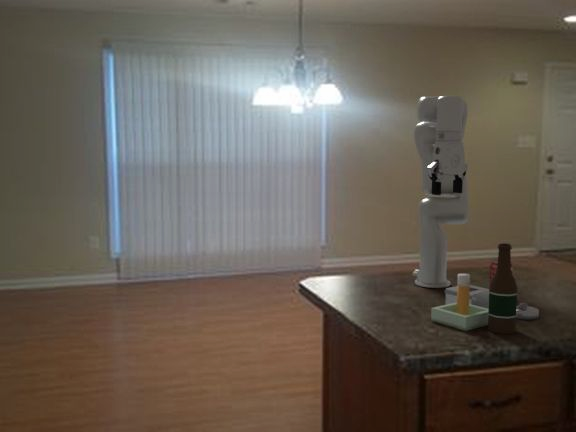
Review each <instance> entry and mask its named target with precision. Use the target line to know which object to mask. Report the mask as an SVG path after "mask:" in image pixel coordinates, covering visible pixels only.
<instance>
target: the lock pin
mask: <svg viewBox="0 0 576 432" xmlns="http://www.w3.org/2000/svg"><path fill="white" fill-rule="evenodd" d="M470 285H471V274H469V273H458V274H457V285H456V286H457V313H458V314H462V315H469V291H470Z"/></svg>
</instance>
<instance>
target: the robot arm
mask: <svg viewBox="0 0 576 432" xmlns="http://www.w3.org/2000/svg"><path fill="white" fill-rule="evenodd" d="M468 110H469V108H468V105H467V102H466V100H464V99H463V98H462V96H459V95H441V96H440V95H439V96H436V95H434V96H430V95H429V96H421V97H420V98H419V99H418V101H417V106H416V114H417V119H418V120H419V121H420V122H419V123H417V124H416V125H415V127H414V129H413V138H414V145H415V148H416V150H417V153H418V155H419V156H418V157H419V159H420V168H421V169H420V170H421V172H420V173H421V188H422V192H423V193H424V194H425V195H427V196H430V197H426V198H423V199H421V200H420V201H419V203H418V207H417V210H418V218H419V219H418V220H419V234H420V235H419V269H415V270H414V271H413V272H412V276H416V279H415V280H414V284H415V285H416V286H418V287H422V288H431V289H442V288H449V287H451V281H450V280H448V279H447V263H448V261H447V260H448V259H447V258H448V236H447V233H446V231H444V229H443V228H442V227H441V225H463V224H466V223H467V222H468V220H469V214H470V210H469V208H470V206H469V205H470V204H469V192H468V179H467V170H468V167H469V166H468V164H467V163H465V161H466V159H465V158H466V156H465V148H464V146H465V145H464V142H463V140H464V137H465V136H464V135H465V131H466V126H467V121H468V113H469V111H468ZM433 196H434V197H433Z"/></svg>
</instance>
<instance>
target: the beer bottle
mask: <svg viewBox="0 0 576 432" xmlns="http://www.w3.org/2000/svg"><path fill="white" fill-rule="evenodd" d="M497 249H498V254H497V255H498V256H497V260H498V264H497V270H496V273H495V274H494V276H493V277H492V279H491V282H490V281H489V288H488V289H489V311H488V325H487V330H488V331H489V332H491V333H494V334H499V335H501V334H502V335H512V334H515V333H516V330H517V329H516V326H517V319H516V310H517V304H518V286H517V282H516V279H515V277H514V274H513V275H512V273H511V262H512V261H511V260H512V259H511V258H512V257H511V250H512V249H513V248H512V244H510V243H498V245H497Z"/></svg>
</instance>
